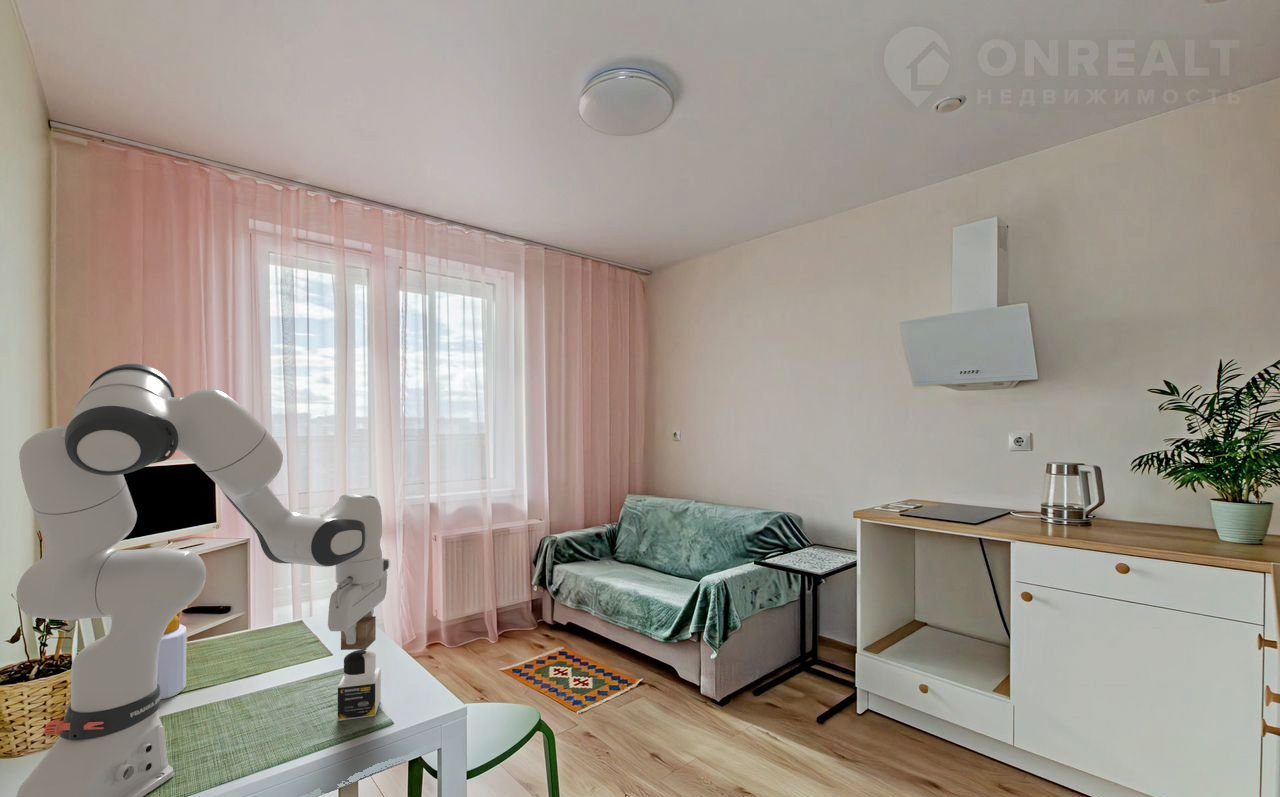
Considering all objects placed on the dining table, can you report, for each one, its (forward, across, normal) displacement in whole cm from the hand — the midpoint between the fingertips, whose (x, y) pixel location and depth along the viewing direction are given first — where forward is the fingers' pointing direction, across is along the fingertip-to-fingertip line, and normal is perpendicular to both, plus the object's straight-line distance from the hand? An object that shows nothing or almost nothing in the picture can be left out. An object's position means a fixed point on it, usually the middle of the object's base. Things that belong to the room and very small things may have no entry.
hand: (358, 636), depth 123 cm
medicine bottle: (+16, 0, 0) cm, 16 cm away
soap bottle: (+16, +13, +49) cm, 53 cm away
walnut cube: (+2, 0, 0) cm, 2 cm away
